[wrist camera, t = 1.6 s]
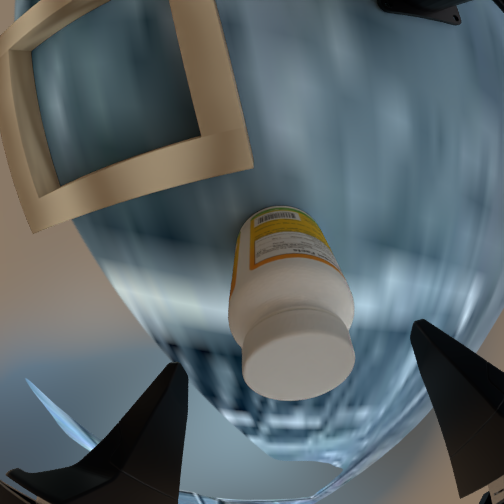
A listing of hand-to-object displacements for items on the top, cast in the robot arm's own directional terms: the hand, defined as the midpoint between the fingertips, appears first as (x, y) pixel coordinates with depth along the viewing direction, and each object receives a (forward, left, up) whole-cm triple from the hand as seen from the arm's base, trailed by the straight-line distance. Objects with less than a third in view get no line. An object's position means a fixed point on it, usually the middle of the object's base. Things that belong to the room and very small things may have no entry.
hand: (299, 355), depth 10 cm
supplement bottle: (0, 0, -9) cm, 9 cm away
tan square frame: (+8, -13, -9) cm, 18 cm away
